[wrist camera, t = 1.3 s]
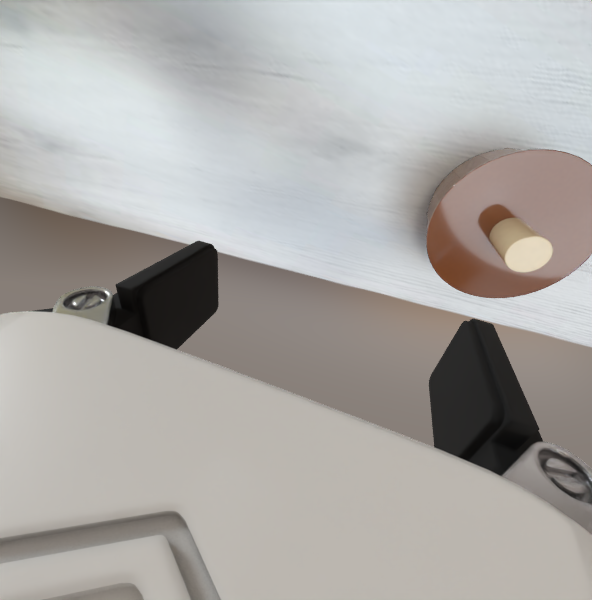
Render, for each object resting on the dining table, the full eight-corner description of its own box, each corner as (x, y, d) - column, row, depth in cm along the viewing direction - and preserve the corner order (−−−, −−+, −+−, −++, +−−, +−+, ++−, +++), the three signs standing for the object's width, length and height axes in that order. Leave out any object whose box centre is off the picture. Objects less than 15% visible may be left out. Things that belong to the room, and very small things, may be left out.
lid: (460, 136, 24) (474, 141, 19) (649, 162, 21) (724, 176, 16) (407, 274, 32) (408, 303, 27) (541, 306, 29) (570, 345, 24)
